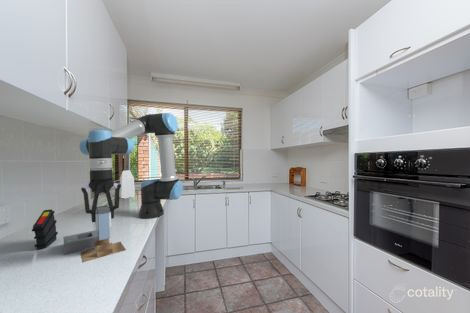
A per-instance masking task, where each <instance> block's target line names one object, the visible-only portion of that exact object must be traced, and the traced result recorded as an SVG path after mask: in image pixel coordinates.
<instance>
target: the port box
mask: <svg viewBox="0 0 470 313" xmlns="http://www.w3.org/2000/svg"><path fill="white" fill-rule="evenodd" d="M62 240H63V255H65V256H66V255H68V254H72V253H76V252H82V251H86V250H90V249H94V241H95V240H99V239H98V232H97V231H96V229H95V230H90V231H86V232H81V233H75V234H70V235H67V236H66V235H65V236H63V239H62Z"/></svg>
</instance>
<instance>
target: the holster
mask: <svg viewBox="0 0 470 313" xmlns="http://www.w3.org/2000/svg"><path fill="white" fill-rule="evenodd" d="M125 251H127V248H125V246H124V245H123V244H122V241H117V242H115V243H113V242H110V238H108V239H104V240H100V241H99V240H95V241H94V247H93V248H89V249H85V250H81V251H79V252H80V258H81V262H82V263H85V262H89V261H93V260H96V259H101V258H103V257H107V256H110V255H111V256H112V255H113V254H118V253H120V252H121V253H122V252H125Z"/></svg>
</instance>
